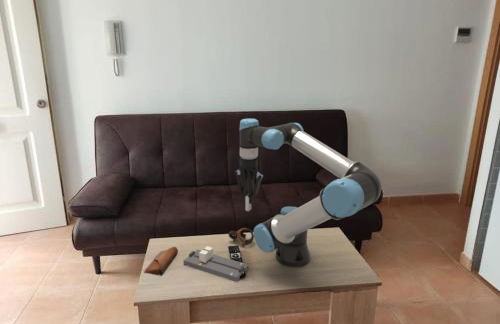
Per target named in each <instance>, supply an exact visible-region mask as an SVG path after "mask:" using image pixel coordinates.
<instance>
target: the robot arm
mask: <svg viewBox="0 0 500 324" xmlns="http://www.w3.org/2000/svg"><path fill="white" fill-rule="evenodd" d="M285 144H288V145H289V146H291V147H292V148H294V149H295V150H297V151H298V152H300V153H302V154H303V155H304V156H306V157H308V158H309V159H310V160H312V161H313V162H315V163H316V164H318V165H319V166H321V167H322V168H324V169H325V170H327V171H328V172H330V173H331V174H333V175H334V176H336V177H337V179H334V180H333V181H331V182H330V183H329V184H327V185H326V187H323V188H322V189H321V190H320V192H319V195H318V196H317V197H315V198H313V199H311V200H310V201H308V202H306V203H304V204H303V205H300V206H299V207H297V206H284V207H282V208H281V210H280V214H276V215H275V216H273V217H270V219H267V220H266V221H264V222H262V223H260V222H259V223H258V224H257V225H256V226H254V229H253V235H254V239H253V241H254V242H255V244H256V246H257V247H258V248H259V249H260V250H261V251H262V252H264V253H266V254H267V253H272V252H275V255H274V256H275V260H276V261H277V263H280V264H281V265H283V266H287V267H292V268H294V267H295V268H297V267H298V268H299V267H303V266H305V265H308V263H309V262H310V260H311V252H310V249H309V246H308V231H309V230H310V229H312V228H314V227H316V226H319V225H320V224H322V223H325V222H326V221H328V220H331V219H333V220H336V221H338V220H339V221H340V220H342V219H344V218H346V217H351V216H353V215H355V214H357V213H358V212H359V211H361V210H363V209H364V208H367V207H368V206H370V205H373V204H374V203H375V202H377V201H378V199H379V198H380V196H381V192H382V183H381V180H380V178H379V176H378V175H377V173H375V171H373V170H372V168H371V169H370V167H368V166H367V165H365V164H363V163H361V162H360V161H352V160H351V159H349V158H347V157H346V156H344V155H343V154H341V153H340V152H338V151H336V150H335V149H333V148H331V147H330V146H328V145H327V144H325V143H323V142H322V141H320V140H318V139H317V138H315V137H313V136H312V135H311V134H308V133H307V132H305V131H304V128H303V126H302V125H301V124H300V123H298V122H289V123H286V124H285V123H284V124H280V125H276V126H275V125H274V126H270V127H266V126H260V124H259V120H257V118H244V119H241V120H240V122H239V156H240V157H239V168H238V169H237V170H235V171H234V175H235V178H236V183H237V186H238V187H237V188H238V191H239V193H240V194H241V195H243V202H244V203H245V205H244V206H245V210H244V211H246V212H250V211H251V210H252V204H253V203H254V197H255V196H257V195H258V193H259V190H260V186H261V183H262V179H263V177H264V174H263V173H260V172H259V170H260V169H258V168H259V147H263V148H265V149H268V150H279V149H280V147H282V146H283V145H285ZM255 177H256V179H255ZM255 180H256V181H255Z"/></svg>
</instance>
